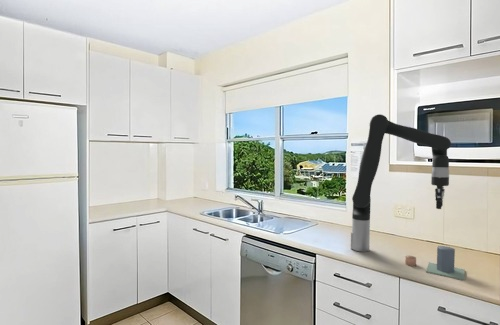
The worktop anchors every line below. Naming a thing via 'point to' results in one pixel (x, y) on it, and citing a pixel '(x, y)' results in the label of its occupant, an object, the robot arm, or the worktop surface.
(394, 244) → the worktop surface
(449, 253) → the grey octagonal prism
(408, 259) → the cylinder
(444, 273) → the mat
